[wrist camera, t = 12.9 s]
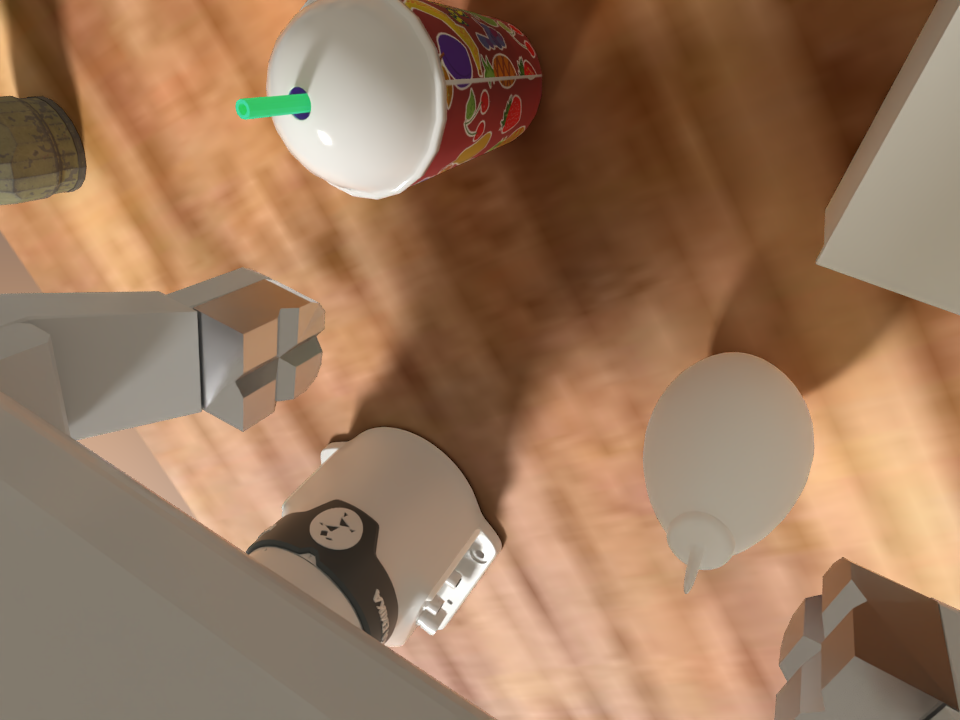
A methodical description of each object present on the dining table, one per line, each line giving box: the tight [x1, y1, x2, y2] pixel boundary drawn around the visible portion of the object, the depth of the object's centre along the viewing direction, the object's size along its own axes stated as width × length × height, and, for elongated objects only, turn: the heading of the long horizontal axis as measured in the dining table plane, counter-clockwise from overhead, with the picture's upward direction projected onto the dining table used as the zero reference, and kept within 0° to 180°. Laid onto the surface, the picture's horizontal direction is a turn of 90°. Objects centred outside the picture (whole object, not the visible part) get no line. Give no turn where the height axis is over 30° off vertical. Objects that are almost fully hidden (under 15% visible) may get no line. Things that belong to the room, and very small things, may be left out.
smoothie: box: [236, 0, 542, 200], centre depth 29 cm, size 8×8×20 cm
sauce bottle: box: [643, 352, 814, 594], centre depth 30 cm, size 8×8×18 cm
